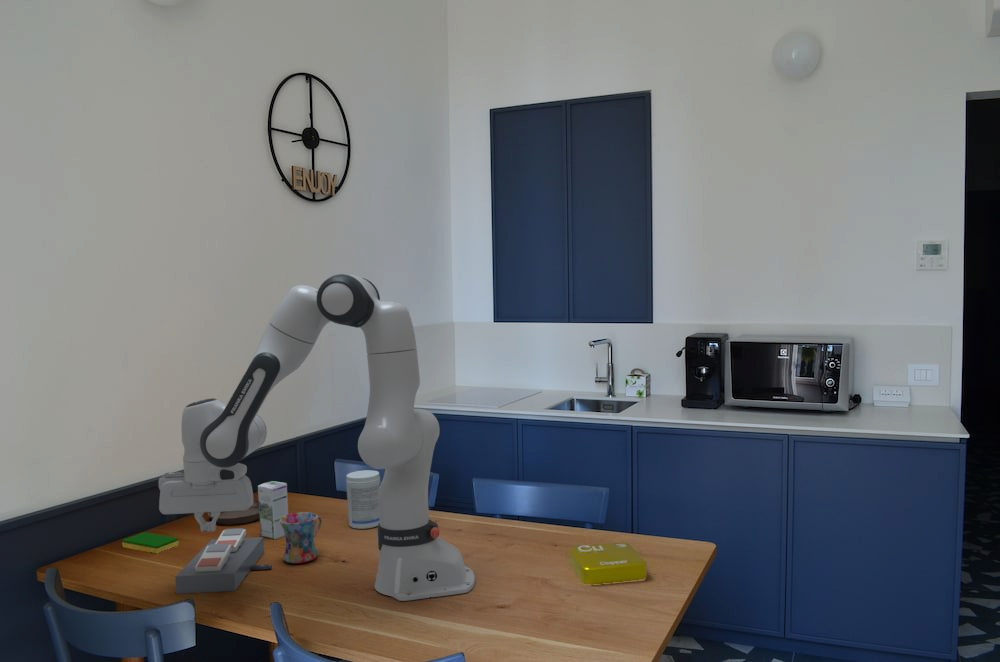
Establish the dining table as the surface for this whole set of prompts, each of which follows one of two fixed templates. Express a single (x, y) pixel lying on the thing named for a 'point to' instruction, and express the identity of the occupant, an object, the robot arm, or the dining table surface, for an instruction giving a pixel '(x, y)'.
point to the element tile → (607, 563)
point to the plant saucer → (239, 515)
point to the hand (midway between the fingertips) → (208, 530)
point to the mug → (300, 536)
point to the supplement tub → (363, 499)
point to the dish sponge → (150, 542)
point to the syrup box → (272, 508)
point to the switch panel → (229, 573)
